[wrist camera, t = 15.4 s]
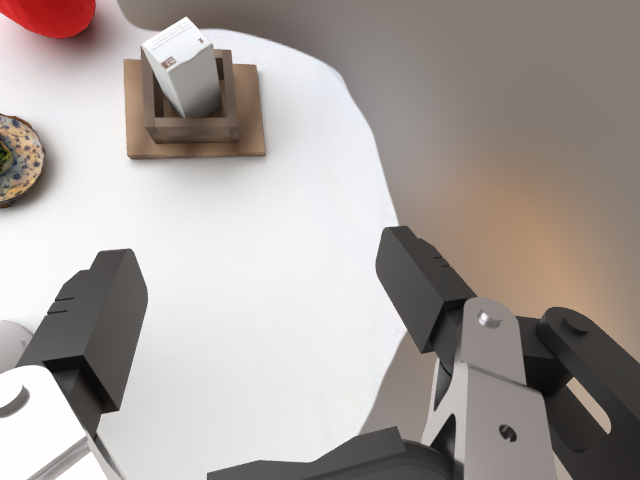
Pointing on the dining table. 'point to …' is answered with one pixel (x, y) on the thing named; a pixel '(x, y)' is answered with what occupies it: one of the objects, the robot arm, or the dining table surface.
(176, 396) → the dining table surface
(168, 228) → the dining table surface
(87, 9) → the tomato
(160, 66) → the skincare box
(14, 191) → the plate of food
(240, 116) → the sleeve stand
